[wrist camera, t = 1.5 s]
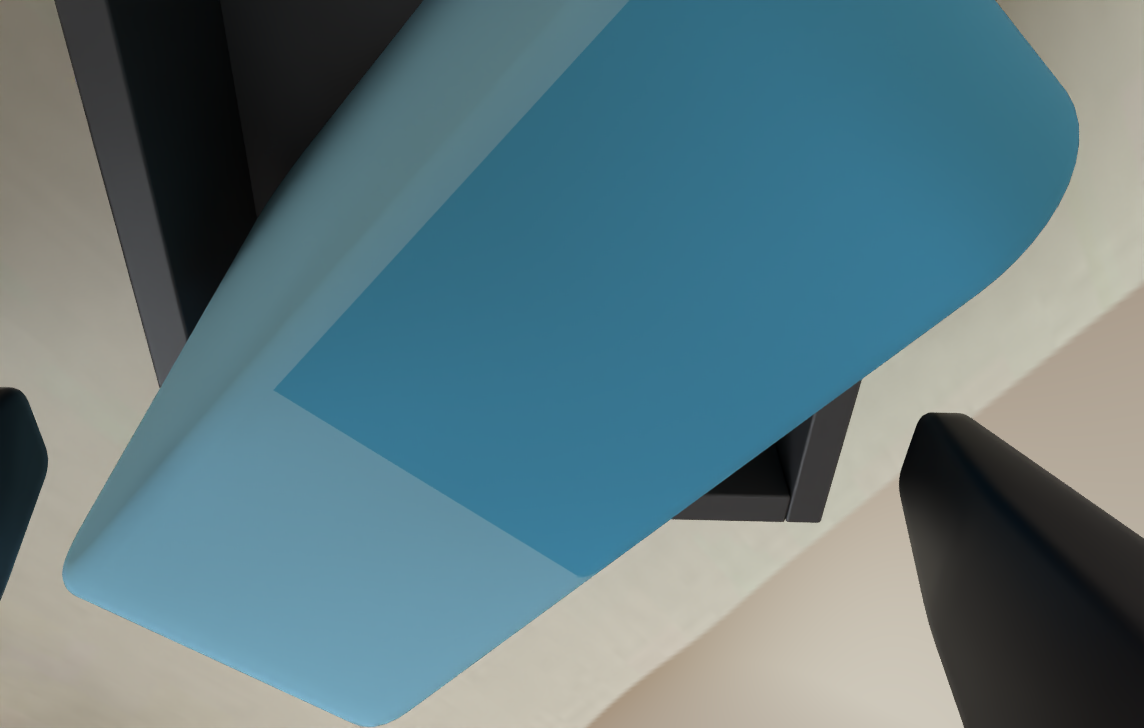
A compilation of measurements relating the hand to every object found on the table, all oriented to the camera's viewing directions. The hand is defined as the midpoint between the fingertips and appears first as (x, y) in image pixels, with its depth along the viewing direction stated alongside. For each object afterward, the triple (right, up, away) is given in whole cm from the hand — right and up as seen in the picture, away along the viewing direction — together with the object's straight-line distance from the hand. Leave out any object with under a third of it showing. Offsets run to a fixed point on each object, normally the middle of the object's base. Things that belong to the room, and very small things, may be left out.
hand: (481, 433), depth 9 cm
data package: (0, +7, +10) cm, 12 cm away
